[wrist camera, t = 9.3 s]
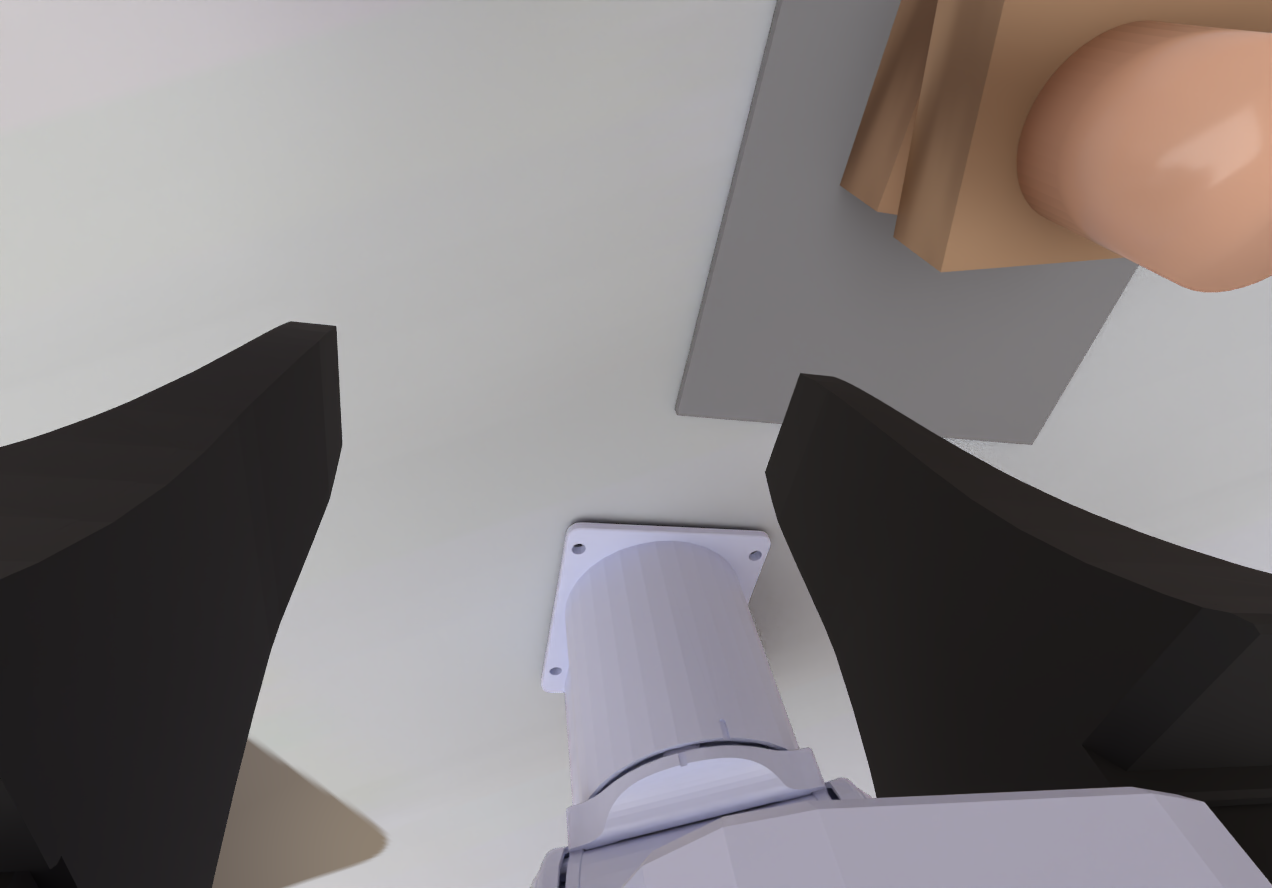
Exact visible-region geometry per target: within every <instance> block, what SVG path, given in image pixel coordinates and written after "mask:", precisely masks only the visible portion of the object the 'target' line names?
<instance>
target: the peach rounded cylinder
mask: <svg viewBox="0 0 1272 888" xmlns="http://www.w3.org/2000/svg"><path fill="white" fill-rule="evenodd" d="M1017 176H1018V182H1019V185H1020V189H1021V192H1022V194H1023V196H1024V198H1025V200H1026V201H1027V203H1028V204H1029V205H1030V206H1031V208H1032V209H1033V210H1034V211H1036V212H1037V213H1038V214H1039V215H1041V216H1043V217H1044V218H1046V219H1048V220H1050V221H1052V222H1054V223H1056V224H1058V225H1060V226H1062V227H1064V228H1066V229H1068V230H1070V231H1072V232H1074V233H1076V234H1078V235H1080V236H1082V237H1084V238H1086V239H1088V240H1090V241H1092V242H1094V243H1096V244H1098V245H1100V246H1102V247H1104V248H1106V249H1108V250H1110V251H1112V252H1114V253H1116V254H1118V255H1120V256H1122V257H1124V258H1126V259H1128V260H1130V261H1132V262H1134V263H1136V264H1138V265H1140V266H1142V267H1144V268H1146V269H1148V270H1150V271H1152V272H1154V273H1156V274H1158V275H1160V276H1162V277H1164V278H1166V279H1168V280H1170V281H1172V282H1174V283H1176V284H1178V285H1180V286H1182V287H1185V288H1188V289H1191V290H1194V291H1200V292H1222V291H1230V290H1234V289H1238V288H1242V287H1245V286H1248V285H1251V284H1254V283H1257V282H1259V281H1261V280H1263V279H1266V278H1268V277H1270V276H1272V33H1266V32H1256V31H1247V30H1238V29H1228V28H1219V27H1210V26H1200V25H1191V24H1182V23H1172V22H1163V21H1151V20H1145V21H1135V22H1131V23H1127V24H1123V25H1120V26H1117V27H1115V28H1112V29H1110V30H1108V31H1106V32H1104V33H1102V34H1100V35H1098V36H1096V37H1095V38H1093V39H1092V40H1090V41H1089V42H1087V43H1086V44H1084V45H1083V46H1082V47H1080V48H1079V49H1078V50H1077V51H1076V52H1074V53H1073V54H1072V55H1071V56H1070V57H1069V58H1068V59H1067V60H1066V61H1065V62H1064V63H1063V64H1062V65H1061V66H1060V67H1059V68H1058V69H1057V70H1056V71H1055V73H1054V74H1053V75H1052V76H1051V77H1050V79H1049V80H1048V81H1047V83H1046V84H1045V86H1044V87H1043V89H1042V90H1041V91H1040V93H1039V95H1038V96H1037V98H1036V100H1035V102H1034V103H1033V105H1032V107H1031V109H1030V112H1029V114H1028V116H1027V118H1026V121H1025V123H1024V126H1023V129H1022V132H1021V136H1020V140H1019V145H1018V152H1017Z"/></svg>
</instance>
